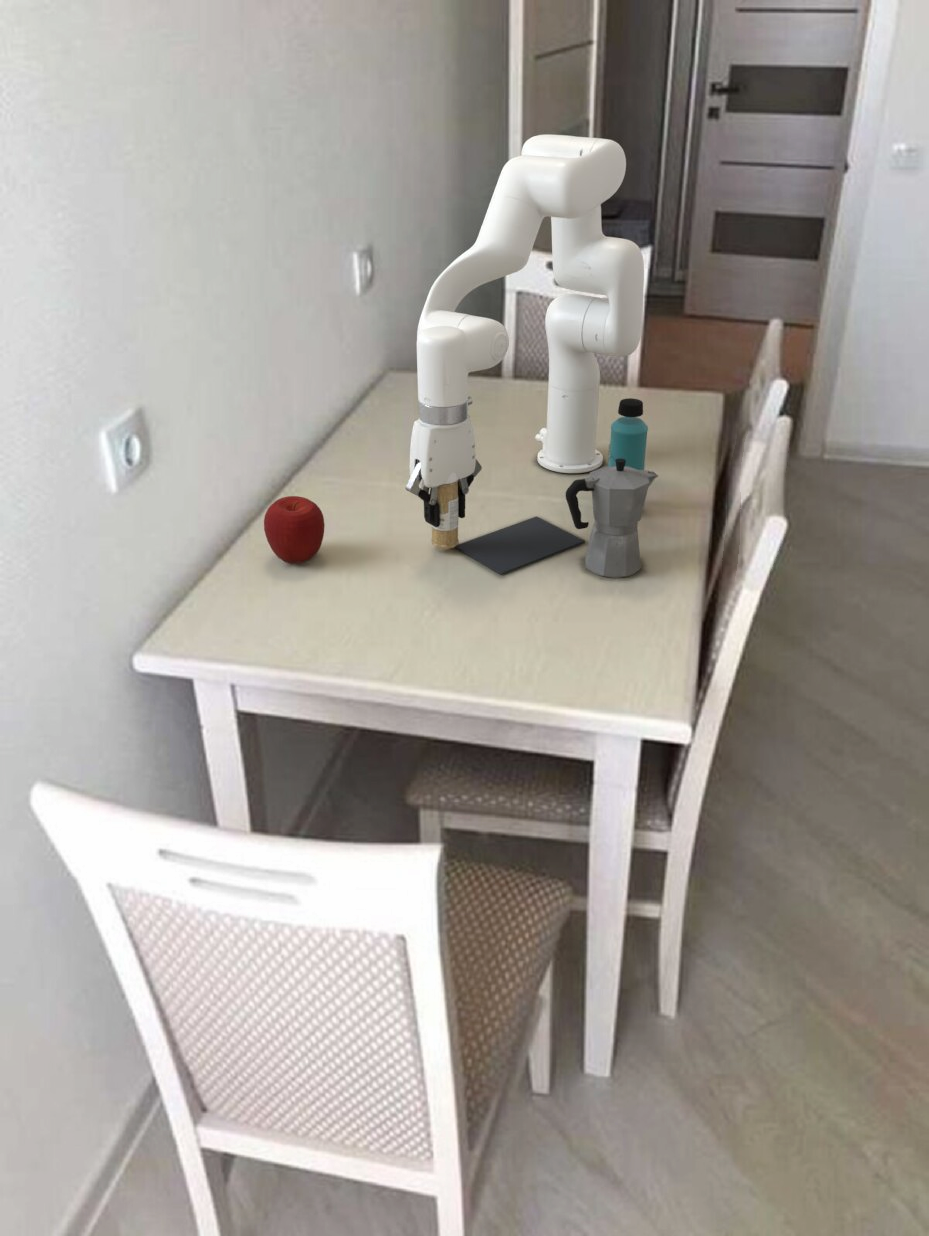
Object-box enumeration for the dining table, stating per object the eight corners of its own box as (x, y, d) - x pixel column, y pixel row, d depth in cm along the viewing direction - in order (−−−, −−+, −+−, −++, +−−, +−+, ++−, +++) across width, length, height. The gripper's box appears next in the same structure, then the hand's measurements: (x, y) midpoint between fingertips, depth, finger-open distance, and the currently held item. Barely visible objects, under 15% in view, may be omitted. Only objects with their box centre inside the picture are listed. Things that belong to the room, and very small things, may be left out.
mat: (454, 547, 173) (454, 545, 173) (536, 518, 183) (536, 516, 183) (501, 575, 165) (501, 573, 165) (584, 542, 175) (585, 540, 175)
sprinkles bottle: (425, 544, 172) (423, 467, 165) (444, 534, 175) (442, 458, 168) (446, 552, 170) (445, 475, 163) (465, 542, 173) (464, 466, 166)
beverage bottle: (644, 505, 188) (654, 396, 177) (637, 520, 182) (647, 409, 172) (608, 500, 189) (616, 392, 179) (600, 515, 184) (608, 404, 174)
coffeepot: (635, 545, 174) (644, 442, 165) (663, 571, 166) (675, 464, 157) (549, 560, 170) (554, 455, 160) (574, 587, 162) (581, 478, 153)
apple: (278, 577, 165) (272, 518, 160) (259, 552, 172) (253, 495, 167) (335, 563, 169) (331, 506, 164) (314, 539, 176) (309, 484, 171)
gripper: (471, 392, 168) (471, 498, 177) (383, 416, 159) (388, 526, 168) (501, 405, 163) (500, 513, 172) (412, 430, 154) (416, 543, 163)
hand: (445, 518), depth 170 cm, fingers closed on sprinkles bottle, 4 cm apart
